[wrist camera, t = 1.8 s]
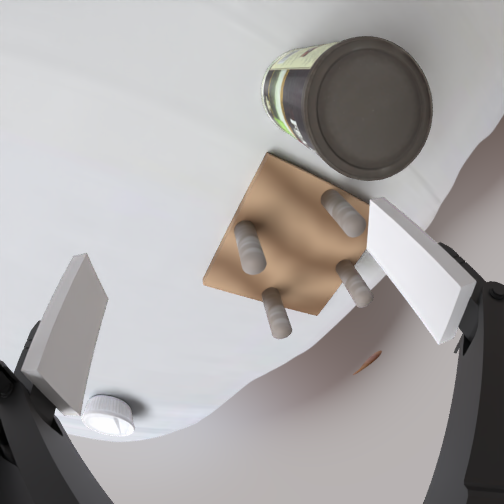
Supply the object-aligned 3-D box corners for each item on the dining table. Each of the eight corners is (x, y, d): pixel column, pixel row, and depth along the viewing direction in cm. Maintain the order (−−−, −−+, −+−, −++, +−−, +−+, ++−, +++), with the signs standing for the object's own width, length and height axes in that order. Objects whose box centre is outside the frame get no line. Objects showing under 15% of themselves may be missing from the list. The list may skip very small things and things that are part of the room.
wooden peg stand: (266, 152, 32) (286, 175, 25) (383, 212, 39) (416, 243, 32) (202, 279, 40) (205, 324, 33) (314, 310, 46) (332, 350, 39)
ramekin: (145, 412, 57) (145, 433, 52) (108, 419, 58) (106, 439, 53) (111, 387, 51) (108, 410, 46) (75, 396, 51) (71, 416, 47)
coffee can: (320, 154, 33) (384, 205, 22) (242, 107, 29) (272, 130, 17) (367, 84, 29) (453, 102, 17) (294, 29, 25) (357, 6, 13)
